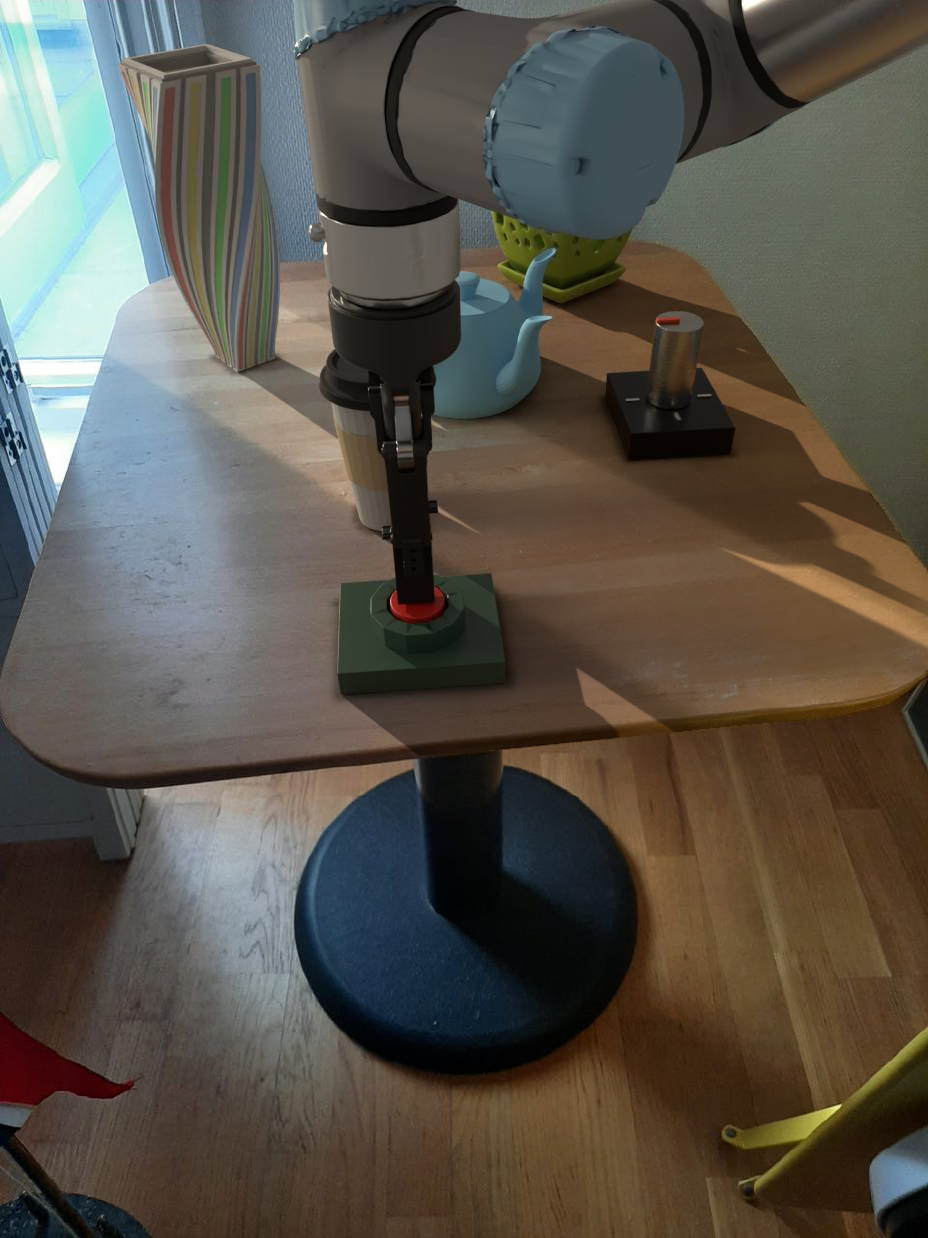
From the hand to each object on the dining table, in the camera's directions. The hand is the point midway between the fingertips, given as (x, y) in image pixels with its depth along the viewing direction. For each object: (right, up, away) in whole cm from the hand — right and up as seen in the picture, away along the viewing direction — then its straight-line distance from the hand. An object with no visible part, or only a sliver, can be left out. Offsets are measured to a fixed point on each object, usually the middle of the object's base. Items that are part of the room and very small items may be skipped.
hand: (415, 596), depth 68 cm
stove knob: (+24, +20, +23) cm, 39 cm away
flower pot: (+16, +42, +52) cm, 68 cm away
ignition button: (0, -2, +1) cm, 2 cm away
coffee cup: (-3, +8, +16) cm, 18 cm away
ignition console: (0, -3, +3) cm, 5 cm away
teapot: (+4, +23, +31) cm, 39 cm away
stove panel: (+24, +18, +25) cm, 39 cm away
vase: (-22, +28, +38) cm, 52 cm away
